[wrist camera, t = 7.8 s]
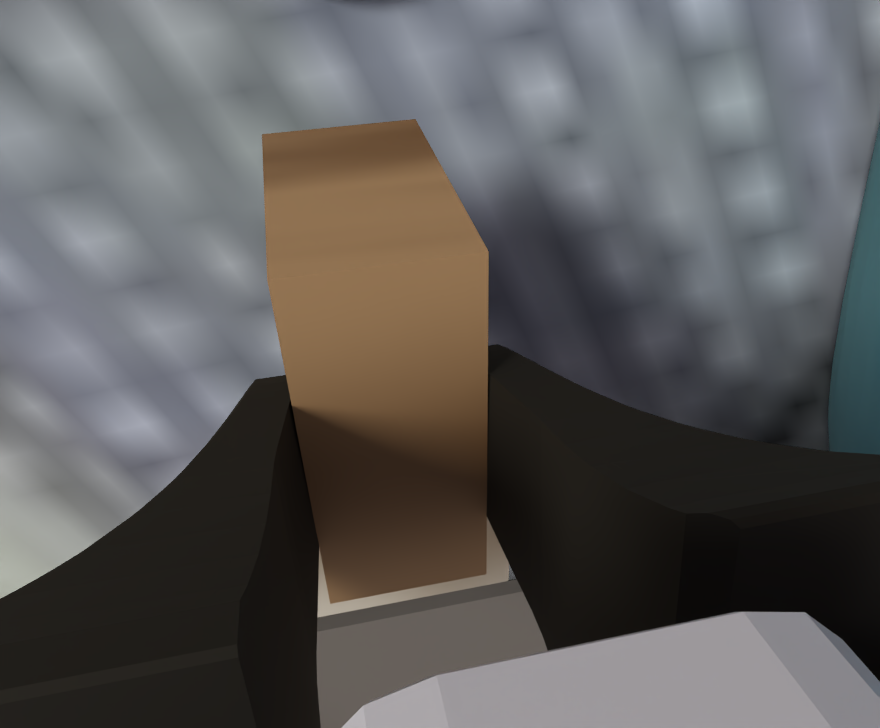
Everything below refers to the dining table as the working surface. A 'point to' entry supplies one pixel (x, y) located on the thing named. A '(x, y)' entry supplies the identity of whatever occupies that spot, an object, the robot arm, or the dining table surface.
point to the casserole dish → (859, 335)
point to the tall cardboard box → (383, 360)
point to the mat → (417, 643)
